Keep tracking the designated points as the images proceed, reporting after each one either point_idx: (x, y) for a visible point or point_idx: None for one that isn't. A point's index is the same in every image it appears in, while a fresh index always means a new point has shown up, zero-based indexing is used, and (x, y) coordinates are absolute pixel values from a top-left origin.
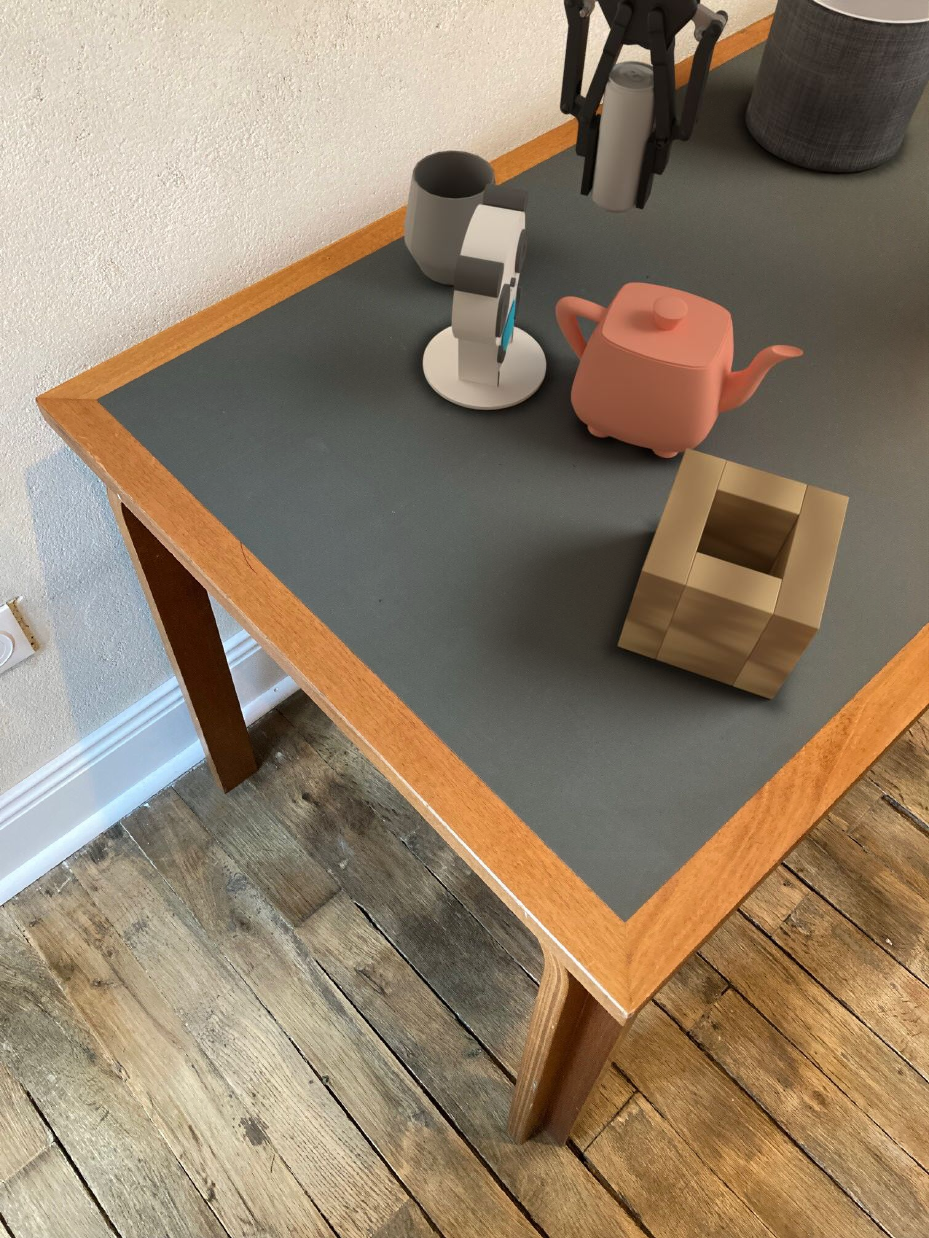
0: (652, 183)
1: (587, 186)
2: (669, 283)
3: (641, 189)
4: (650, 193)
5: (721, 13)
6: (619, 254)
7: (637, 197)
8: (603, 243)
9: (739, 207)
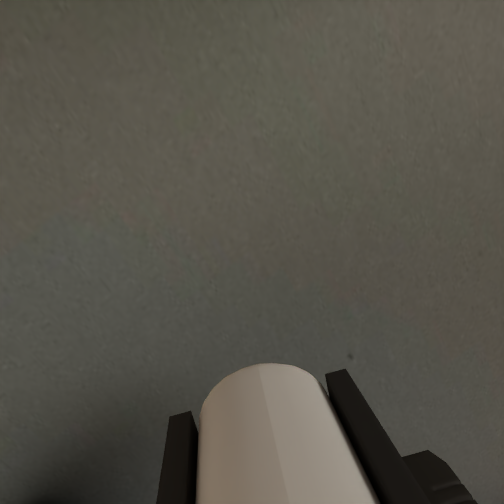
0: (357, 388)
1: None
2: (390, 345)
3: None
4: (346, 370)
5: None
6: (277, 336)
7: None
8: (234, 329)
9: (427, 26)
